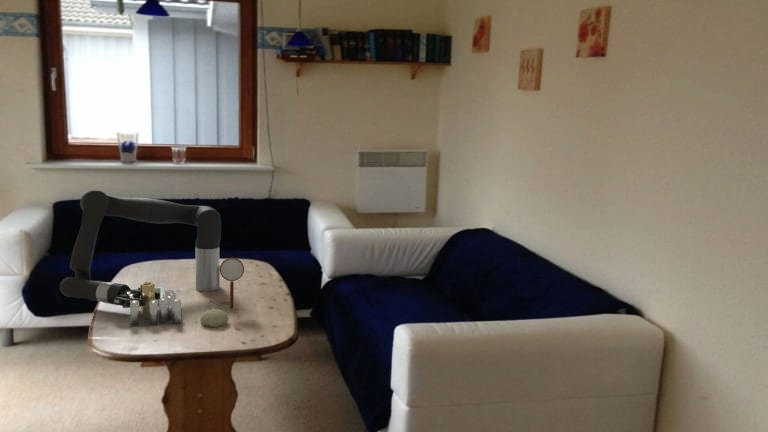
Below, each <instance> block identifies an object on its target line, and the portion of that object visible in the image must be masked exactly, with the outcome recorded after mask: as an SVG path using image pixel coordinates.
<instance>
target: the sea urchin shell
mask: <svg viewBox="0 0 768 432" xmlns="http://www.w3.org/2000/svg"><path fill="white" fill-rule="evenodd" d="M228 322H229V317H228V314H227V313H226V312H225V311H223V310H221V309H218V308H217V309H216V308H213V309H208V310H205V311H204V312H203V313H202V315H201V317H200V323H201V325H202V326H204V327H209V328H218V327H222V326H225V325H226V324H227V323H228Z"/></svg>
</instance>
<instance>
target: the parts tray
mask: <svg viewBox="0 0 768 432" xmlns="http://www.w3.org/2000/svg"><path fill="white" fill-rule="evenodd" d="M129 288H130V289H131V290H132V289H136V290H138V288H139V287H136V288H133V287H132V288H131V287H129ZM155 292H157V293H160V299H162V298H164V286H162V287H161V286H159V287H157V286H155ZM140 298H141V295H140ZM155 300H157V301H158V305H159V299H155Z"/></svg>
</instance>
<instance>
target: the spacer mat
mask: <svg viewBox="0 0 768 432" xmlns="http://www.w3.org/2000/svg"><path fill="white" fill-rule="evenodd" d="M175 325H176V326H178V325H184V318H183V308H181V324H173V320H168V322H167V323H159V309H158V325H150V319H142V317H141V310H139V325H137V326H132V325H131V323H130V324H129V327H130V328H140V327H141V328H143V327H158V326H159V327H160V326H175Z"/></svg>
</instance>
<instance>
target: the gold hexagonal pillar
mask: <svg viewBox="0 0 768 432" xmlns="http://www.w3.org/2000/svg"><path fill="white" fill-rule="evenodd" d="M139 287H140V288H141V299H144V300H145V305H144V306H140V311H141V317H142V319H150V315H149V301H151V300H155V287H156V286H155V283H154V281H153V282H152V281H146V282H141V283H140V286H139Z"/></svg>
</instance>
